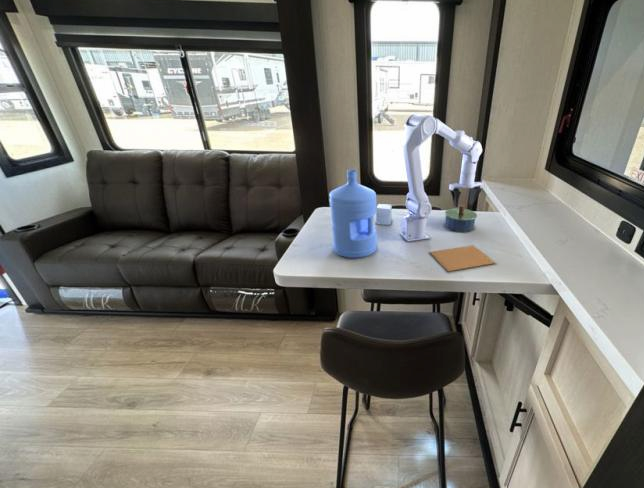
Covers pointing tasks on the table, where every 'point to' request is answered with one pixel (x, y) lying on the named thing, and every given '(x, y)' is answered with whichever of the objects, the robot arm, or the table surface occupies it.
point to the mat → (461, 258)
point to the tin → (459, 224)
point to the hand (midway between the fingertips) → (463, 205)
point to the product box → (383, 214)
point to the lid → (460, 213)
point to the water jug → (353, 218)
